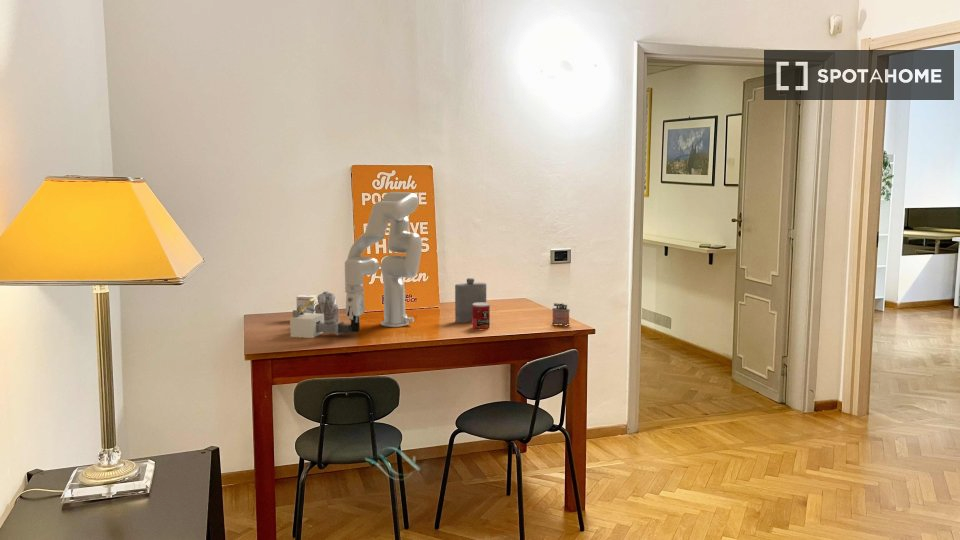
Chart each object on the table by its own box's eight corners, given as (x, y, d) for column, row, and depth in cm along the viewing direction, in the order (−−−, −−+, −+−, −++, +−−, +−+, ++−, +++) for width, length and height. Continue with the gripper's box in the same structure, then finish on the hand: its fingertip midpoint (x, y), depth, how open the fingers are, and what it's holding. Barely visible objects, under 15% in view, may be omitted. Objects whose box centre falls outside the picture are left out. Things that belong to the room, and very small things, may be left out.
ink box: (296, 321, 347) (295, 296, 345) (300, 319, 352) (299, 294, 350) (314, 321, 346) (313, 296, 344) (317, 319, 351) (317, 295, 349)
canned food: (477, 330, 327) (477, 306, 326) (469, 327, 334) (469, 303, 333) (492, 328, 331) (492, 304, 329) (484, 325, 338) (484, 301, 336)
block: (324, 331, 325) (323, 307, 323) (312, 338, 313) (311, 312, 312) (303, 330, 327) (302, 306, 325) (290, 336, 315) (289, 311, 314)
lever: (315, 300, 319) (313, 297, 320) (311, 301, 315) (309, 299, 315) (300, 314, 322) (298, 311, 322) (296, 316, 318) (293, 313, 318)
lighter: (570, 325, 339) (570, 303, 337) (568, 326, 336) (568, 304, 334) (553, 323, 342) (553, 302, 341) (551, 324, 339) (551, 303, 338)
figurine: (338, 322, 344) (337, 290, 342) (339, 328, 333) (338, 294, 331) (315, 323, 342) (314, 291, 340) (315, 329, 331) (314, 295, 329)
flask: (483, 318, 353) (483, 277, 350) (487, 321, 347) (487, 278, 345) (453, 320, 348) (453, 278, 345) (457, 323, 342) (456, 280, 340)
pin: (353, 332, 319) (353, 321, 318) (348, 335, 313) (347, 324, 312) (312, 330, 323) (312, 319, 322) (306, 333, 317) (306, 322, 316)
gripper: (356, 291, 305) (357, 335, 307) (369, 286, 319) (369, 328, 322) (339, 291, 306) (340, 334, 309) (352, 285, 321) (353, 327, 323)
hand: (355, 331), depth 315 cm, fingers closed
